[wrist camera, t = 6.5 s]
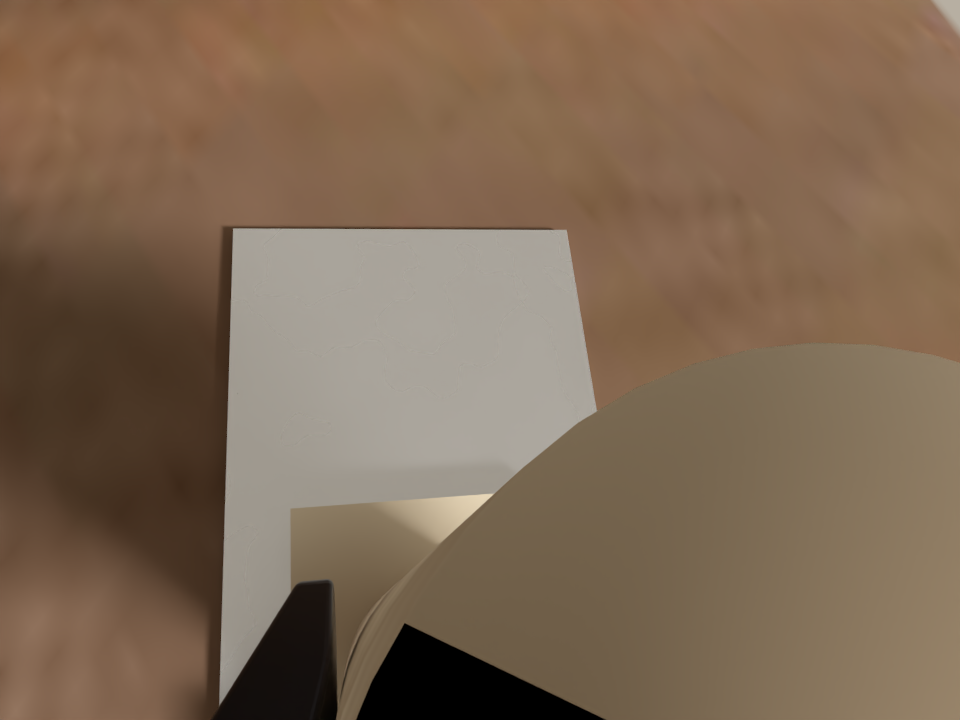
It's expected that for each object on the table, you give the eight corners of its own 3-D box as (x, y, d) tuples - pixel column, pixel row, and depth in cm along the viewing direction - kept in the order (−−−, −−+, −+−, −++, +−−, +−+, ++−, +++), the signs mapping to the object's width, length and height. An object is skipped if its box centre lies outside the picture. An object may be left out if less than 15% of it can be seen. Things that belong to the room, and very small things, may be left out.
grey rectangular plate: (639, 695, 15) (644, 697, 15) (219, 754, 14) (217, 757, 13) (563, 235, 19) (566, 229, 19) (234, 234, 18) (233, 228, 17)
